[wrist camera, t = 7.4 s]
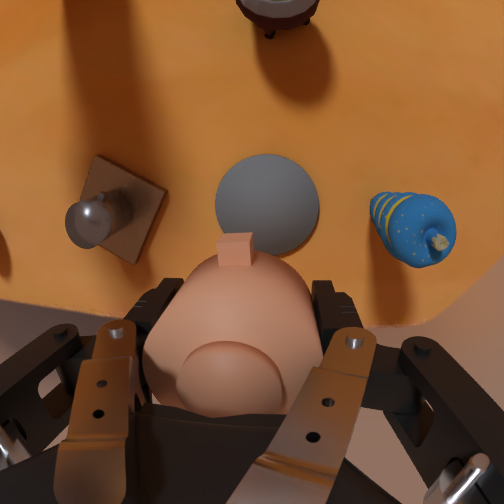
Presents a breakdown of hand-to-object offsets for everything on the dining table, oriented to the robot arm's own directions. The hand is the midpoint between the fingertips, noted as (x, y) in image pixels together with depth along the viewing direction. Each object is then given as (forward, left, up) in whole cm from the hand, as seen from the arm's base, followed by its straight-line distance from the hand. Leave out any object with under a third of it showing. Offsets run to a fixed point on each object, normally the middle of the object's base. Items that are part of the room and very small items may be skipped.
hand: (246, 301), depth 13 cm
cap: (0, 0, +1) cm, 1 cm away
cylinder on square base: (+8, -14, -20) cm, 25 cm away
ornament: (-6, +9, -20) cm, 23 cm away
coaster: (0, 0, -20) cm, 20 cm away
